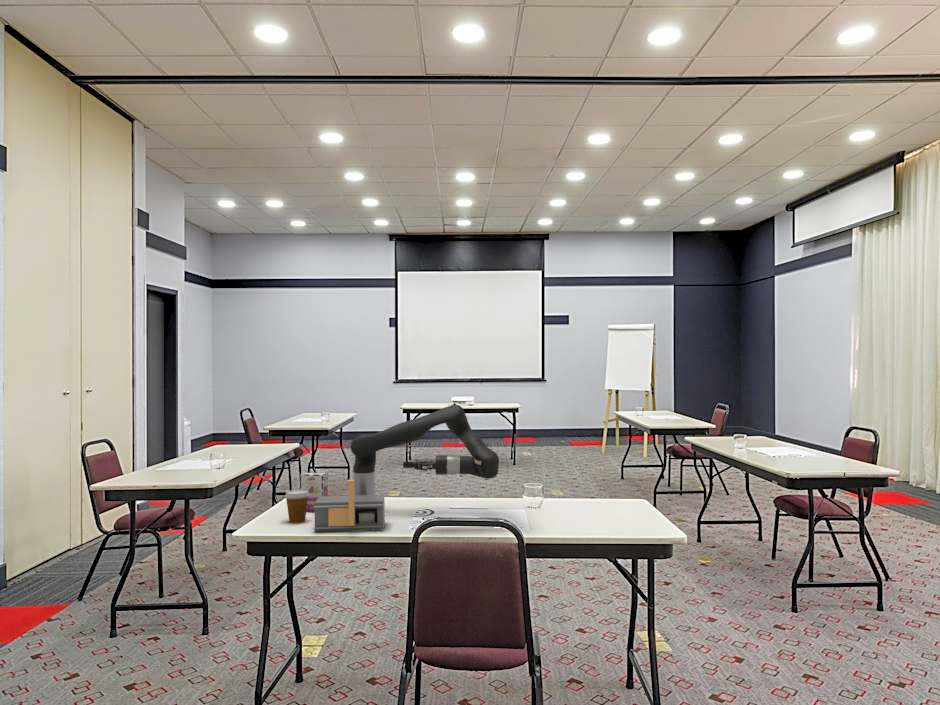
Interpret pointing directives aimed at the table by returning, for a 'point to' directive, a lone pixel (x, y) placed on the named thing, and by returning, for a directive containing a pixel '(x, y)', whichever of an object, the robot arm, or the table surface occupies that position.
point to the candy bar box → (314, 487)
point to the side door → (344, 511)
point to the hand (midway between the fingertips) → (403, 464)
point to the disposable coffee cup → (297, 505)
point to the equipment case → (366, 512)
